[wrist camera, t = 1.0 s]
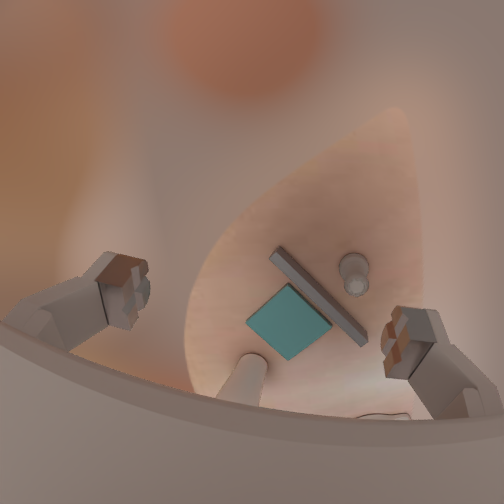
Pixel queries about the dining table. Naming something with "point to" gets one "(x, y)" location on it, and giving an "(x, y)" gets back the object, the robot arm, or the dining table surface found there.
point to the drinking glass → (245, 381)
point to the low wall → (319, 296)
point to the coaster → (288, 322)
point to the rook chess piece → (354, 274)
